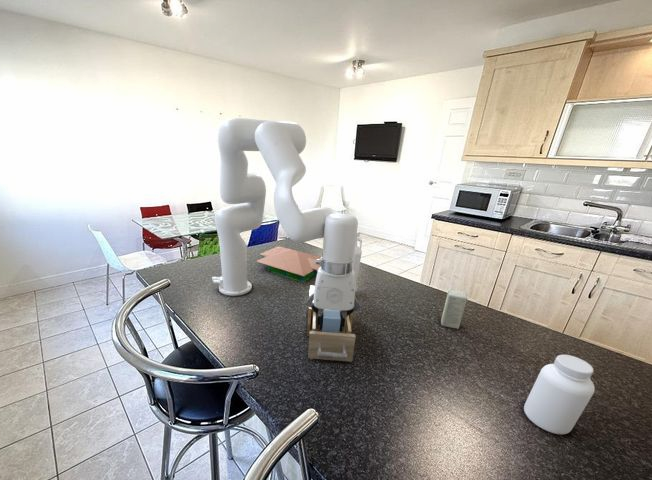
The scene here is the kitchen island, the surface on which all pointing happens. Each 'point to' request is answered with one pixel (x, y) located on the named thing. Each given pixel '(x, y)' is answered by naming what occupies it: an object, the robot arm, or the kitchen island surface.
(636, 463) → the kitchen island surface
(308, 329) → the cabinet
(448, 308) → the box
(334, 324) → the block
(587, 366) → the pill bottle
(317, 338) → the drawer
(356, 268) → the white spray bottle
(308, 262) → the house
